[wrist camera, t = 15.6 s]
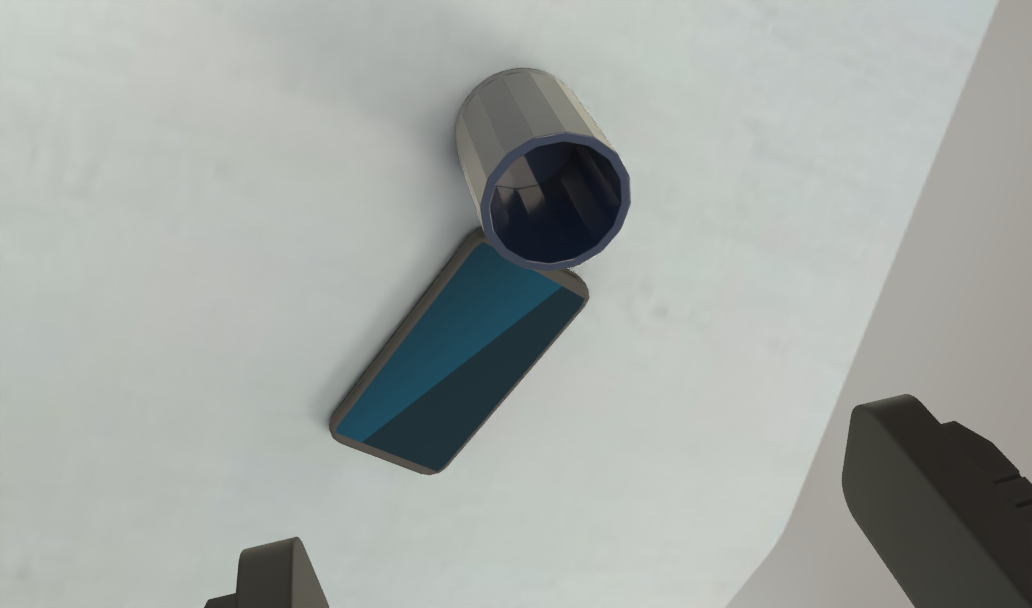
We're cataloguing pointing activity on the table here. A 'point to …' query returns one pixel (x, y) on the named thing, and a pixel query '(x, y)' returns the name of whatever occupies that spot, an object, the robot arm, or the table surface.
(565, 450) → the table surface
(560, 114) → the pot
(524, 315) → the smartphone
